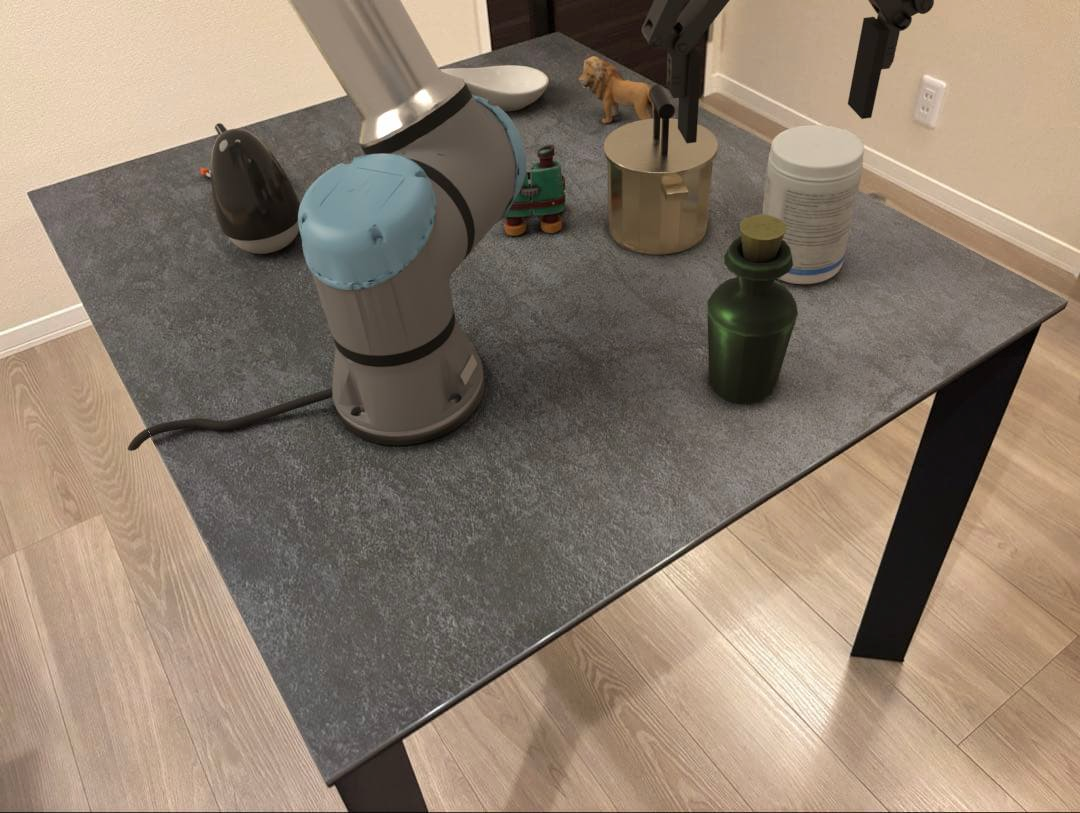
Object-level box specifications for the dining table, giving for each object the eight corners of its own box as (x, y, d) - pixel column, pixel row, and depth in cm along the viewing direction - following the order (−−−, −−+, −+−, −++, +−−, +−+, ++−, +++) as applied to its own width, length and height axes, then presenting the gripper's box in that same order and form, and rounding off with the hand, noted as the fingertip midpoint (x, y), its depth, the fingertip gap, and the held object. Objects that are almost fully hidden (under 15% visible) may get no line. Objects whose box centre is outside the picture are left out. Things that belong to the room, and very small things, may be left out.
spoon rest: (531, 80, 136) (528, 35, 131) (562, 107, 128) (559, 61, 123) (394, 116, 130) (385, 70, 125) (417, 147, 122) (408, 100, 117)
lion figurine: (575, 121, 124) (572, 61, 118) (594, 107, 127) (592, 47, 121) (661, 142, 118) (663, 80, 112) (679, 126, 121) (682, 65, 114)
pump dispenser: (289, 211, 112) (254, 102, 101) (323, 243, 105) (289, 131, 95) (218, 239, 108) (173, 130, 97) (248, 275, 102) (204, 162, 91)
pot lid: (615, 189, 91) (614, 128, 86) (595, 134, 100) (593, 76, 95) (730, 174, 91) (737, 112, 86) (700, 121, 101) (704, 63, 96)
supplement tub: (859, 266, 94) (888, 146, 84) (799, 299, 91) (822, 178, 80) (796, 230, 100) (816, 114, 90) (737, 259, 97) (751, 142, 86)
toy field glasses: (561, 122, 103) (565, 153, 96) (565, 201, 110) (569, 235, 102) (490, 128, 104) (488, 159, 96) (498, 206, 110) (497, 241, 102)
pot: (623, 273, 96) (623, 193, 89) (597, 197, 109) (596, 121, 101) (724, 260, 97) (732, 179, 89) (687, 185, 109) (692, 109, 102)
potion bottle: (709, 415, 79) (725, 259, 67) (692, 359, 85) (704, 206, 72) (794, 407, 79) (826, 249, 67) (771, 351, 85) (796, 196, 72)
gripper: (620, -182, 46) (624, 168, 60) (1055, -236, 47) (954, 122, 61) (596, -204, 51) (604, 123, 66) (986, -252, 52) (908, 81, 67)
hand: (773, 123), depth 64 cm, fingers open, 13 cm apart
